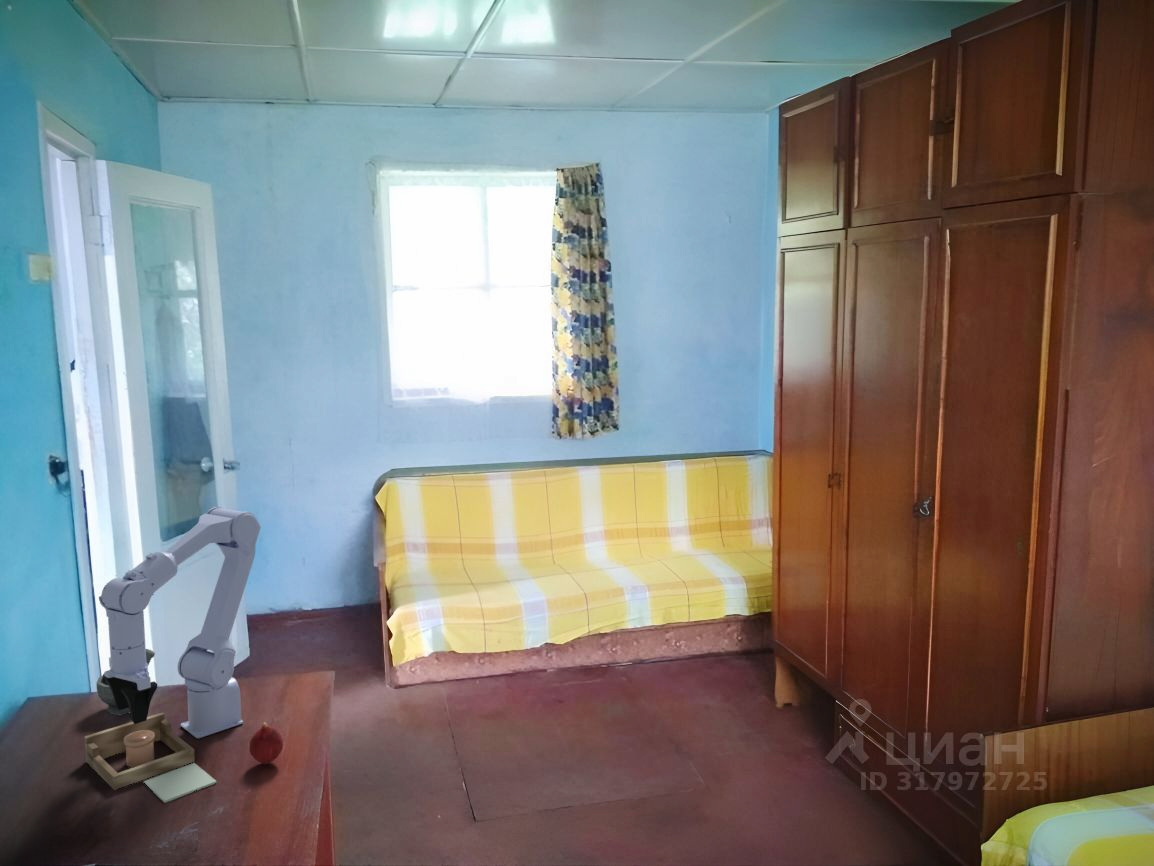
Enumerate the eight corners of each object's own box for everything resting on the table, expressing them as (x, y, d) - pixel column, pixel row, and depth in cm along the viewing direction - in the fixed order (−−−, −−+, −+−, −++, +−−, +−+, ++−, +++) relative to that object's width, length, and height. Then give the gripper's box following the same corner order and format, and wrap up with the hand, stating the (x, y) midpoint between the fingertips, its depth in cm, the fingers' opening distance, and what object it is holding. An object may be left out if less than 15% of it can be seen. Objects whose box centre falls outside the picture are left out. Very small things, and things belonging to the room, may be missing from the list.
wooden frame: (163, 736, 172) (162, 712, 172) (194, 761, 163) (193, 736, 162) (85, 762, 162) (84, 736, 161) (114, 790, 153) (112, 763, 152)
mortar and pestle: (102, 723, 177) (99, 666, 176) (94, 706, 185) (91, 651, 183) (162, 709, 184) (159, 654, 183) (152, 693, 192) (149, 640, 190)
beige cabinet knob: (149, 752, 166) (148, 727, 165) (160, 762, 163) (159, 736, 162) (120, 762, 162) (119, 736, 162) (131, 772, 159) (130, 746, 158)
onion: (290, 760, 164) (289, 720, 163) (267, 774, 159) (266, 733, 158) (266, 753, 166) (265, 713, 165) (243, 767, 161) (241, 726, 160)
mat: (194, 764, 162) (194, 762, 162) (216, 783, 156) (216, 780, 156) (143, 783, 155) (143, 781, 155) (164, 802, 149) (164, 800, 149)
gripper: (89, 638, 161) (94, 709, 163) (118, 661, 151) (123, 735, 153) (130, 629, 166) (134, 697, 168) (161, 650, 156) (165, 722, 158)
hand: (131, 714), depth 161 cm, fingers open, 7 cm apart
